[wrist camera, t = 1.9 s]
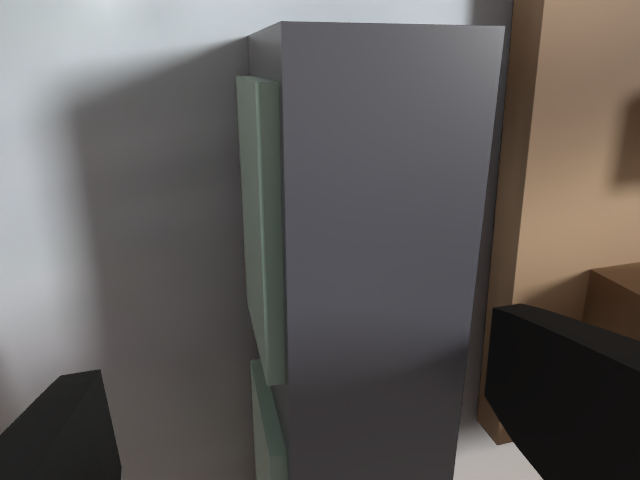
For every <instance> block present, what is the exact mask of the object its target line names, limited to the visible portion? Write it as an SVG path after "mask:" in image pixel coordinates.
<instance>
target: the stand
mask: <svg viewBox="0 0 640 480" xmlns="http://www.w3.org/2000/svg"><path fill="white" fill-rule="evenodd" d="M519 303H521V304H526V305H530V306H534V307H538V308H542V309H545V310H548V311H552V312H555V313H558V314H561V315H564V316H567V317H570V318H573V319H576V320H579V321H582V322H585V323H588V324H591V325H594V326H597V327H600V328H603V329H606V330H609V331H612V332H614V333H617V334H620V335H623V336H626V337H629V338H632V339H635V340H638V341H640V0H514V6H513V17H512V28H511V40H510V51H509V62H508V74H507V85H506V97H505V108H504V119H503V131H502V142H501V153H500V165H499V176H498V187H497V199H496V210H495V221H494V233H493V244H492V255H491V267H490V278H489V289H488V301H487V312H486V323H485V335H484V346H483V358H482V369H481V380H480V392H479V403H478V414H477V421H478V422H479V423H480V425H481V426H482V427H483V428H484V430H485V431H486V432H487V433H488V435H489V436H490V437H491V438H492V440H493V441H494V442H495V443H496V445H501V444H505V443H510V442H513V441H512V440H511V438H510V437H509V435H508V433H507V432H506V430H505V429H504V427H503V426H502V424H501V423H500V421H499V419H498V418H497V416H496V414H495V413H494V411H493V409H492V408H491V406H490V404H489V403H488V401H487V399H486V398H485V396H484V393H485V382H486V372H487V361H488V350H489V340H490V329H491V318H492V308H494V307H500V306H507V305H513V304H519Z"/></svg>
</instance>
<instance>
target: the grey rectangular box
mask: <svg viewBox="0 0 640 480" xmlns="http://www.w3.org/2000/svg"><path fill="white" fill-rule="evenodd" d="M504 33H505V26H482V25H434V24H386V23H338V22H290V21H281V22H278V23H276V24H274V25H272V26H269V27H267V28H265V29H262V30H260V31H258V32H256V33H253V34H251V35H249V36H248V52H249V76H236V89H237V109H238V129H239V149H240V169H241V189H242V209H243V229H244V248H245V268H246V288H247V304H248V309H249V313H250V317H251V321H252V325H253V330H254V334H255V338H256V342H257V347H258V351H259V355H260V359H254V360H250V368H251V388H252V407H253V427H254V447H255V467H256V480H453V475H454V466H455V458H456V449H457V440H458V432H459V423H460V414H461V406H462V397H463V388H464V380H465V371H466V362H467V354H468V345H469V336H470V328H471V319H472V310H473V302H474V293H475V284H476V276H477V267H478V258H479V250H480V241H481V232H482V224H483V215H484V206H485V198H486V189H487V180H488V172H489V163H490V154H491V146H492V137H493V129H494V120H495V111H496V103H497V94H498V85H499V77H500V68H501V59H502V51H503V42H504Z"/></svg>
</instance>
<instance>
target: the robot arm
mask: <svg viewBox="0 0 640 480" xmlns="http://www.w3.org/2000/svg"><path fill="white" fill-rule="evenodd" d="M484 396H485V398H486V399H487V401H488V403H489V404H490V406H491V408H492V409H493V411H494V413H495V414H496V416H497V418H498V419H499V421H500V423H501V424H502V426H503V427H504V429H505V430H506V432H507V433H508V435H509V437H510V438H511V440H512V441H513V442H514V444H515V445H516V446H517V447H518V449H519V450H520V451H521V452H522V454H523V455H524V456H525V457H526V459H527V460H528V461H529V462H530V464H531V465H532V466H533V467H534V468H535V470H536V471H537V472H538V473H539V475H540V476H541V477H542V478H543V480H640V341H638V340H635V339H632V338H629V337H626V336H623V335H620V334H617V333H614V332H612V331H609V330H606V329H603V328H600V327H597V326H594V325H591V324H588V323H585V322H582V321H579V320H576V319H573V318H570V317H567V316H564V315H561V314H558V313H555V312H552V311H548V310H545V309H542V308H538V307H534V306H530V305H526V304H521V303H519V304H513V305H507V306H500V307H494V308H492V318H491V329H490V340H489V350H488V361H487V372H486V382H485V393H484ZM0 480H121V463H120V458H119V454H118V449H117V444H116V440H115V435H114V431H113V426H112V421H111V417H110V412H109V407H108V403H107V398H106V393H105V389H104V384H103V379H102V375H101V370H93V371H87V372H81V373H74V374H68V375H62V376H60V377H59V378H58V379H56V380H55V381H54V382H53V383H52V384H51V385H50V386H49V387H48V388H47V389H46V390H45V391H44V392H43V393H42V394H41V395H40V396H39V397H38V398H37V399H36V400H35V401H34V402H33V403H32V404H31V405H30V406H29V407H28V408H27V409H26V410H25V411H24V412H23V413H22V414H21V415H20V416H19V417H18V418H17V419H16V420H15V421H14V422H13V423H12V424H11V425H10V426H9V427H8V428H7V429H6V430H5V431H4V432H3V433H2V434H1V435H0Z"/></svg>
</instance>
